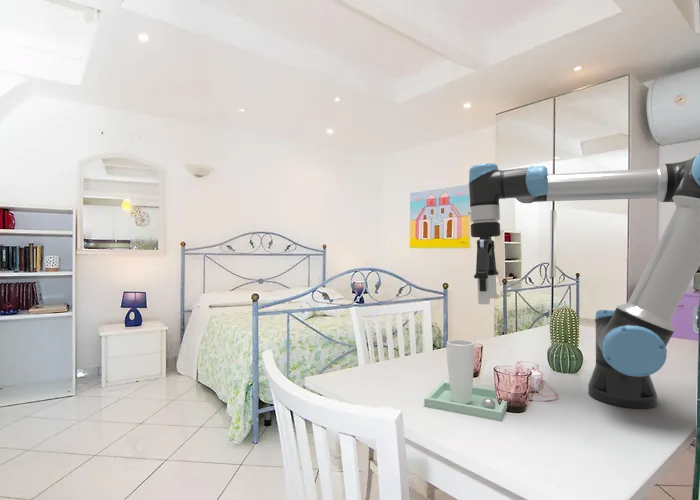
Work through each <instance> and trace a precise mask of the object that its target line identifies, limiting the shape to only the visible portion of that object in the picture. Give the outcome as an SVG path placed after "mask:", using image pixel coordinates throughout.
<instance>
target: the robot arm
mask: <svg viewBox="0 0 700 500" xmlns="http://www.w3.org/2000/svg"><path fill="white" fill-rule="evenodd" d="M468 175H469V176H468V177H469V178H468V187H469V188H468V190H469V209H470V210H469V211H468V212H467V213H468V215H470V222H472V223H471V224H470V236H471V237H472V238H479V239H476V262H475V263H476V265H475V266H476V267H475V274H474V275H473V278H474V279H477V298H478V299H477V300H478V301H477V302H478V305H491V302H490V301H491V299H497V298H498V297H497V296H498V295H497V293H498V292H497V276H498V275H499V271H498V269H497V263H496V255H495V254H496V253H495V246H496V245H495V241H494V240H492V238H493V237H494V238H495V237H499V236H501V224H500V222H499V221H500V219H501V214H500V213H501V211H500V209H501V207H500V200H501V199H502V200H505V199H516V200H517V201H518V202H520V203H521V204H533V203H536V202H537V203H538V202H539V203H542V202H565V201H567V202H568V201H603V200H604V201H606V200H607V201H608V200H640V199H643V200H644V199H645V200H646V199H648V200H649V199H655V200H657V201H658V202H659V203H674V205H675V206H676V208H675V210H674V211H673V213H672V214H671V215H672V216H671V218H670V219H669V221H668V224H667V225H666V228H665V229H664V231H663V234H662V235H661V237H660V239H659V241H658V243H657V244H656V247H655V249H654V251H653V252H652V254H651V256H650V259H648V262H647V264H646V267H644V270H643V272H642V274H641V276H640V278H639V280H638V281H637V283H636V286H635V288H634V290H633V292H632V294H631V296H630V298H629V300H628V301H627V302H626V303H623V304H619V305H617V306H616V308H615V309H614V310H613V309H611V310H610V309H600V310H596V313H595V319H594V323H595V366H594V368H593V371H592V374H591V376H590V378H589V379H590V380H589V381H588V384H587V385H588V389H587V391H588V392H587V393H588V395H589V396H590V397H592V398H593V399H595V400H598V401H600V402H602V403H606V404H609V405H613V406H618V407H623V408H632V409H650V408H654V407H657V406H658V394H657V391H656V389H655V385H654V383H653V380H652V378H651V375H653V374H655V373H657V372H658V371H660V370H661V368H663V367H664V365H665V363H666V360H667V356H668V349H667V346H668V343H669V342H670V340H671V339H672V336H673V334H674V333H675V330H676V329H675V327H674V324H673V323H672V318H673V316H674V315H675V312H676V310H677V309H678V307H679V305H680V304H681V301H682V300H683V297H684V296H685V294H686V292H687V290H688V288H689V286H690V285H691V282H692V281H693V278H694V277H695V275H696V273H697V272H698V269H699V268H700V152H699V153H698V154H696V155H695V156H694V157H692V158H689V159H686V160H682V161H680V162H679V161H678V162H673V163H672V162H671V163H662V164H661V165H659V166H658V167H656V168H640V169H638V168H637V169H622V170H608V171H607V170H604V171H603V170H602V171H586V172H566V173H552V174H551V173H550V174H549V171H548V168H547V166H545V165H540V166H539V165H538V166H537V165H536V166H533V165H532V166H527V167H521V168H518V167H517V168H512V169H502V170H501V169H500V170H499V167H498V164H496V163H492V162H489V163H486V162H485V163H479V164H478V163H477V164H474V165H473V166H471V167H470V168H469V173H468Z"/></svg>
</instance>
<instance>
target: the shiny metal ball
mask: <svg viewBox="0 0 700 500" xmlns="http://www.w3.org/2000/svg"><path fill="white" fill-rule="evenodd" d="M481 406H482V408H488V409H493V410H494V409H495V402H494V401H493V400H492V399H490V398H485V399H483V401H482V403H481Z"/></svg>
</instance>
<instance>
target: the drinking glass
mask: <svg viewBox="0 0 700 500" xmlns="http://www.w3.org/2000/svg"><path fill="white" fill-rule="evenodd" d="M446 362H447V363H446V364H447V370H448V371H447V373H448V380H449V381H448V382H449V383H450V398H451V400H452V401H453V402H455V403H460V404H468V403H470V402H471V401H472V386H474V385H473V384H474V382H473V380H474V371H475V369H474V367H475V343H474V342H473V341H472V340H467V339H450V340H447V341H446Z"/></svg>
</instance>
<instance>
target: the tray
mask: <svg viewBox="0 0 700 500" xmlns="http://www.w3.org/2000/svg"><path fill="white" fill-rule="evenodd" d="M495 390H496V389H495V388H494V389H492V388H488V387H480V386H474V385H472V401H471V402H470V403H468V404H460V403H455V402H453V401H452V400H451V398H450V383H449V381H442V380H441V382H440V383H439V384H438V385H437V386H436V387H435V388H433V390H431V391H430V392H429V393H428V394H427V395H426V396H425V397H424V398H423V399H424V401H423V403H424V404H423V405H424V407H426V408H431V409H435V410H442V411H445V412H450V413H451V412H452V413H458V414H460V415H461V414H462V415H468V416H472V417H478V418H484V419H487V420H492V421H498V422H502V420H503V417H504V415H505V414H506V411H507V410H508V407H507V401H504V400H502V402H501V404H500V405H499V404H498V402H497V398H496V391H495ZM485 398H490V399H492V400H493V401H494V402H495V409H494V410H493V409H488V408H482V406H481V403H482V401H483V399H485Z"/></svg>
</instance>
